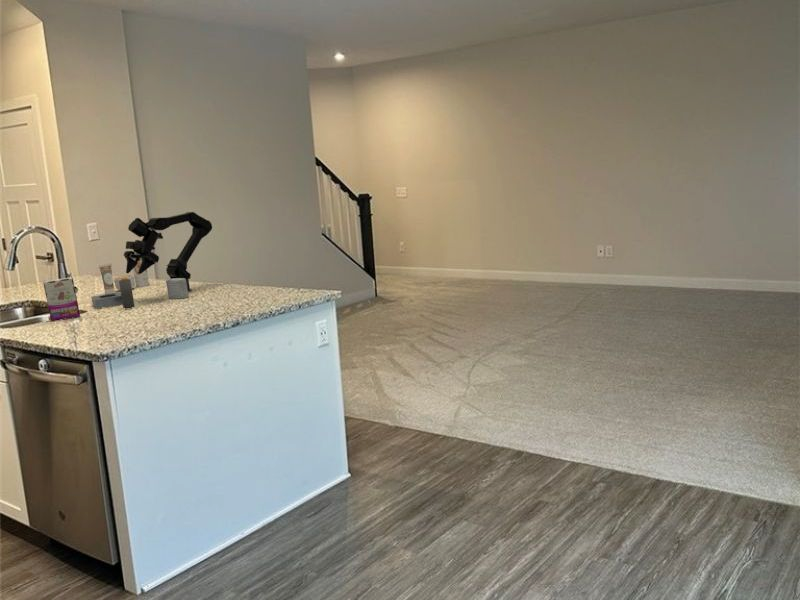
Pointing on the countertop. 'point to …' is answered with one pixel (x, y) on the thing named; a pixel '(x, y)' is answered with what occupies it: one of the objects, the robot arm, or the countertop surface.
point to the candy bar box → (61, 298)
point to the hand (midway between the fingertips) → (133, 273)
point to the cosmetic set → (107, 278)
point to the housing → (107, 300)
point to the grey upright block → (126, 292)
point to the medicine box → (177, 288)
